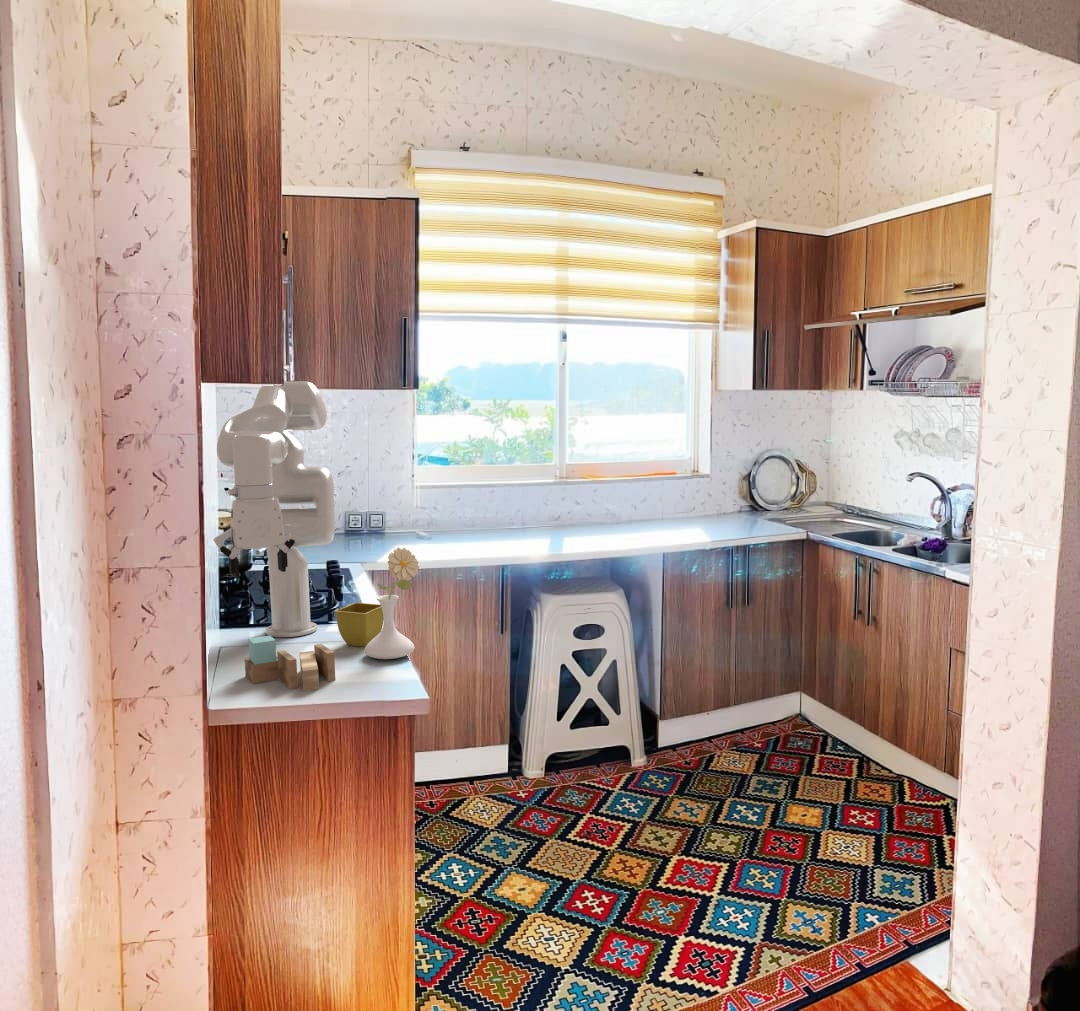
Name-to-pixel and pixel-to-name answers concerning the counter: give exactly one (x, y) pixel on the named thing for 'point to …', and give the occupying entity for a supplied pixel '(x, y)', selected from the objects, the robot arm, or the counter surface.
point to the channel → (289, 665)
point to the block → (262, 649)
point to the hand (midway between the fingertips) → (259, 573)
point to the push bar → (309, 671)
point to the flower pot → (359, 623)
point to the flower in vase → (389, 638)
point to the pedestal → (261, 671)
